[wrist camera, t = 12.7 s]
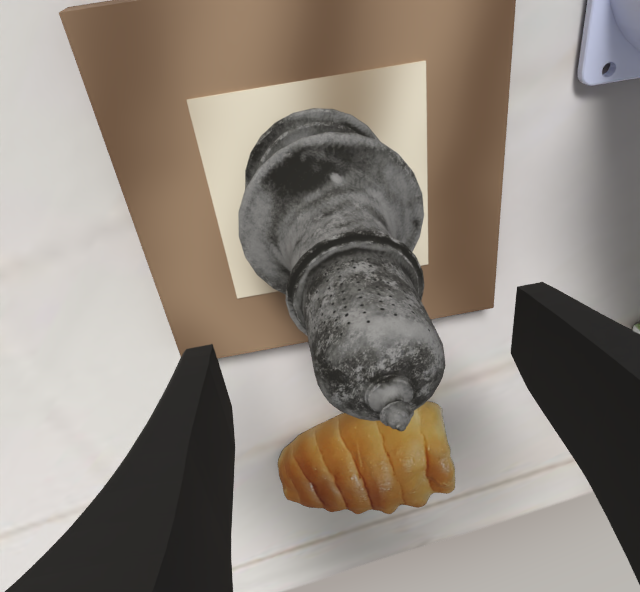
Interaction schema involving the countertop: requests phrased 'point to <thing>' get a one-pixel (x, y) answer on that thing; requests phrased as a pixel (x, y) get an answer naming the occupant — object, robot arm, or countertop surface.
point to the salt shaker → (345, 259)
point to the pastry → (369, 463)
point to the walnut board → (273, 105)
